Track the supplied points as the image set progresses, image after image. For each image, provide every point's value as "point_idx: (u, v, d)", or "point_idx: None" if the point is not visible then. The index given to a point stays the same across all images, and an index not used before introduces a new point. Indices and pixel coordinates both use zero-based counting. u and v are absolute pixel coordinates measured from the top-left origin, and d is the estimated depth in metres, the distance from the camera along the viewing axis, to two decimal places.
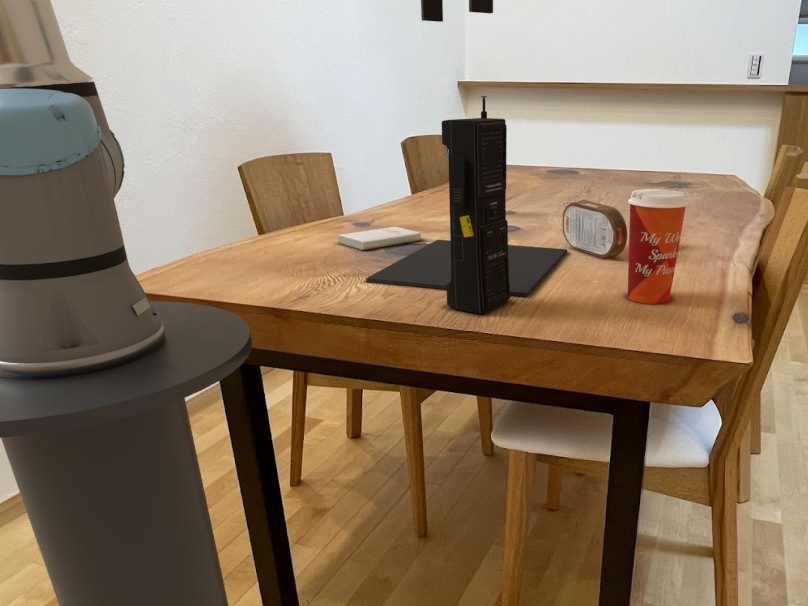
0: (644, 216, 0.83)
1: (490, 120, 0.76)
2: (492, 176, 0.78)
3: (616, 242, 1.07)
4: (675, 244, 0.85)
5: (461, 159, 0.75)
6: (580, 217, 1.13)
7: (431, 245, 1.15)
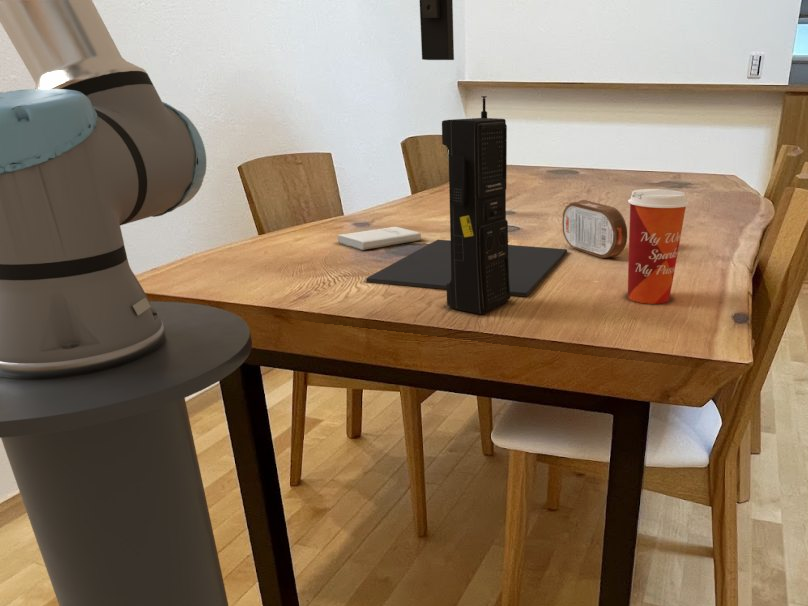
0: (644, 216, 0.83)
1: (490, 120, 0.76)
2: (492, 176, 0.78)
3: (616, 242, 1.07)
4: (675, 244, 0.85)
5: (461, 159, 0.75)
6: (580, 217, 1.13)
7: (431, 245, 1.15)
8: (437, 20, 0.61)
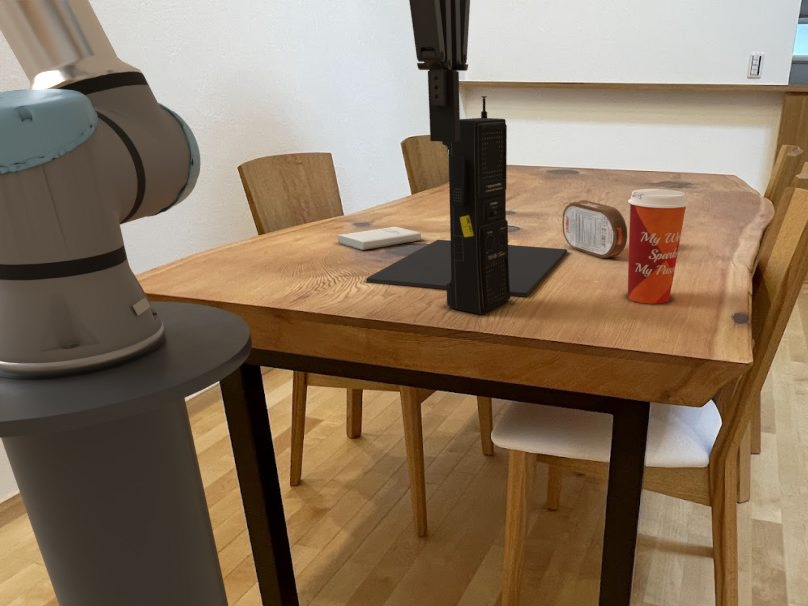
0: (644, 216, 0.83)
1: (490, 120, 0.76)
2: (492, 176, 0.78)
3: (616, 242, 1.07)
4: (675, 244, 0.85)
5: (461, 159, 0.75)
6: (580, 217, 1.13)
7: (431, 245, 1.15)
8: (445, 106, 0.66)
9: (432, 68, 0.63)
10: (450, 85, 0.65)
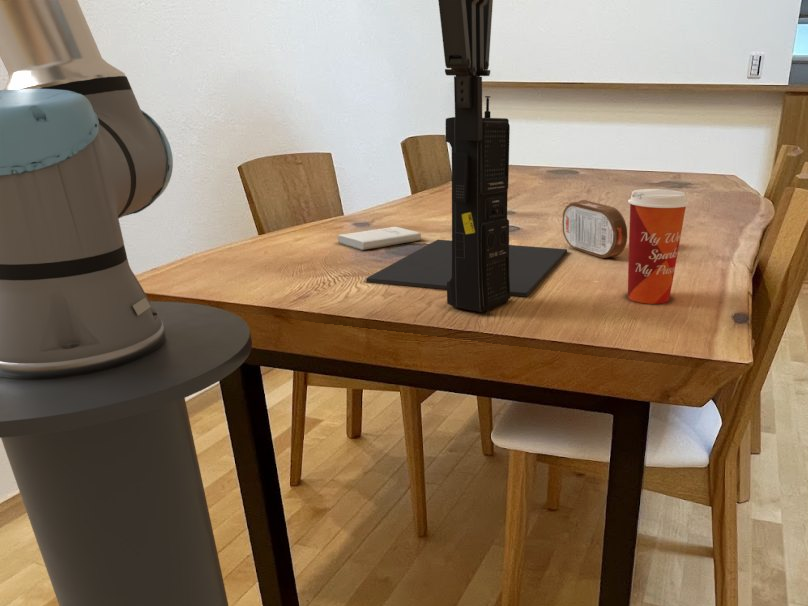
0: (644, 216, 0.83)
1: (494, 118, 0.77)
2: (494, 174, 0.79)
3: (616, 242, 1.07)
4: (675, 244, 0.85)
5: (464, 156, 0.76)
6: (580, 217, 1.13)
7: (431, 245, 1.15)
8: (469, 109, 0.72)
9: (458, 74, 0.70)
10: (474, 89, 0.71)
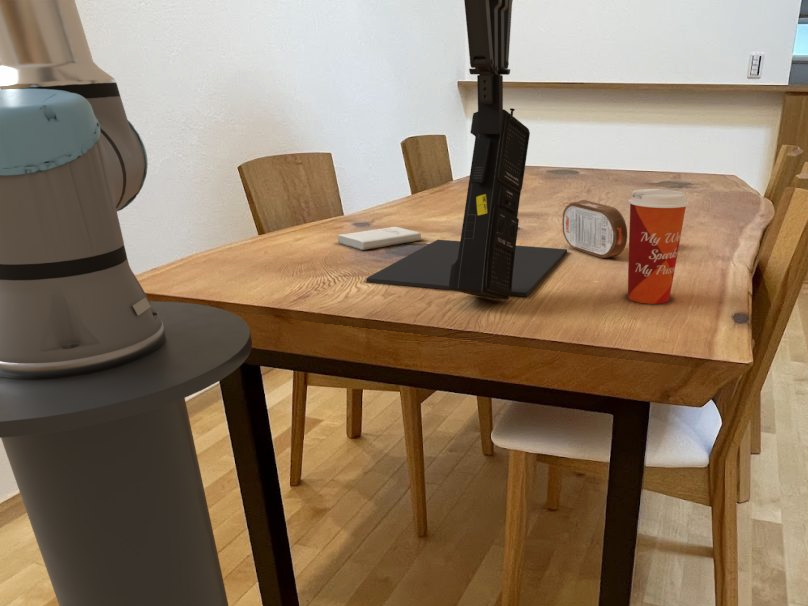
0: (644, 216, 0.83)
1: (517, 120, 0.84)
2: (511, 168, 0.84)
3: (616, 242, 1.07)
4: (675, 244, 0.85)
5: (487, 141, 0.81)
6: (580, 217, 1.13)
7: (431, 245, 1.15)
8: (491, 105, 0.79)
9: (482, 73, 0.77)
10: (496, 87, 0.78)
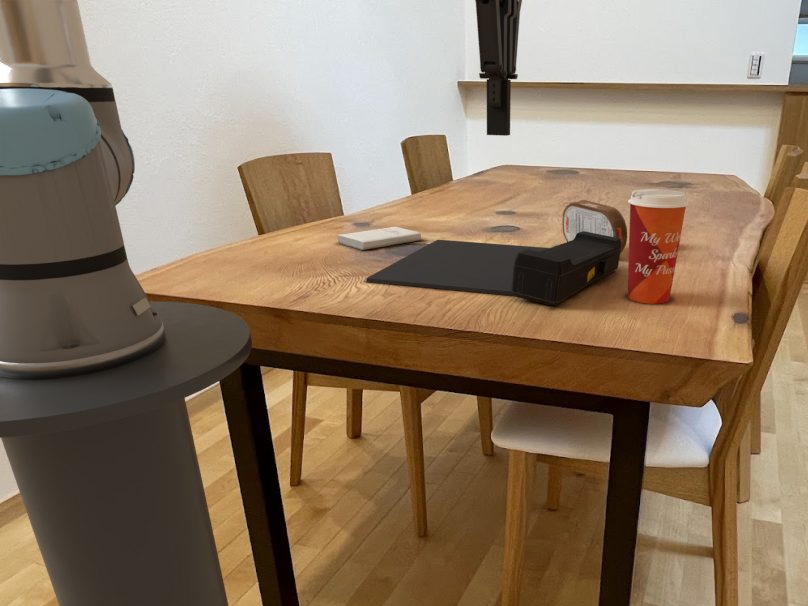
0: (644, 216, 0.83)
1: None
2: None
3: None
4: (675, 244, 0.85)
5: (614, 265, 0.99)
6: (580, 217, 1.13)
7: (431, 245, 1.15)
8: (499, 107, 0.83)
9: (491, 77, 0.81)
10: (504, 90, 0.82)
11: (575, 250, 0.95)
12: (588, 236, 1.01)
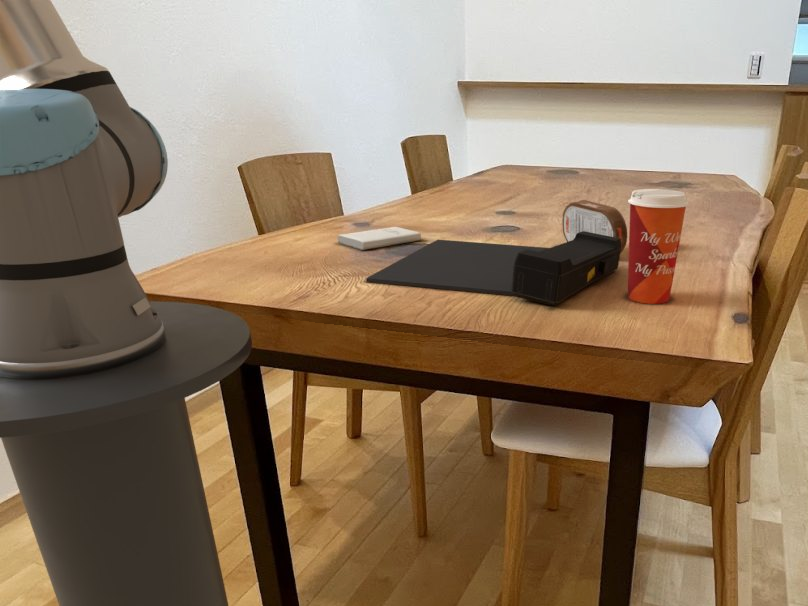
0: (644, 216, 0.83)
1: None
2: None
3: None
4: (675, 244, 0.85)
5: (614, 265, 0.99)
6: (580, 217, 1.13)
7: (431, 245, 1.15)
8: None
9: None
10: None
11: (575, 250, 0.95)
12: (588, 236, 1.01)
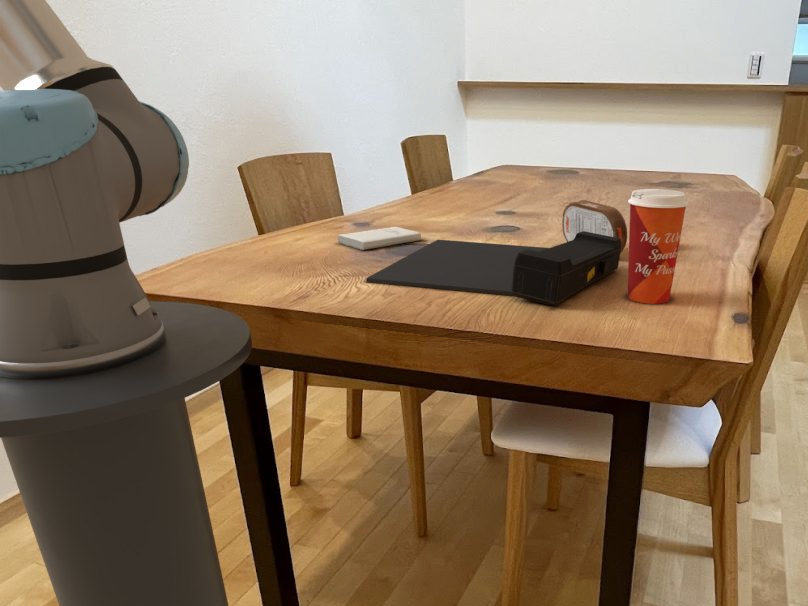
0: (644, 216, 0.83)
1: None
2: None
3: None
4: (675, 244, 0.85)
5: (614, 265, 0.99)
6: (580, 217, 1.13)
7: (431, 245, 1.15)
8: None
9: None
10: None
11: (575, 250, 0.95)
12: (588, 236, 1.01)
